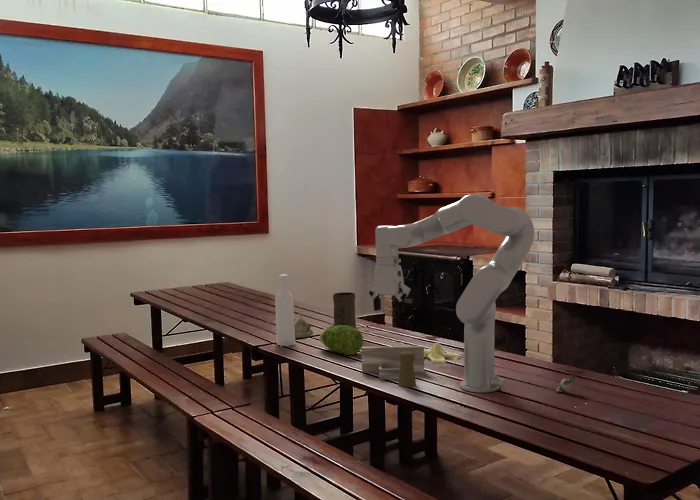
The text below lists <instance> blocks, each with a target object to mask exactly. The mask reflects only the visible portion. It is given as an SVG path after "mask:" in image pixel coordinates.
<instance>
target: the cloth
mask: <svg viewBox="0 0 700 500" xmlns="http://www.w3.org/2000/svg"><path fill="white" fill-rule="evenodd" d="M425 358H427V359H429V360H430V363H431V364H442V365H443V364H444V365H445V364H447V362H446V359H450V360H453V361H458V360H459V359H460V358H461V355H460V353H452V352H451V353H450V352H449V353H448V352H446V351H445V350H444V348H443V347H442V345H441V343H438V342H436V343H434V344H433V345H432V346H431V347H430V348H427V349H424V359H425Z"/></svg>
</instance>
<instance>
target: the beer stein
mask: <svg viewBox="0 0 700 500" xmlns="http://www.w3.org/2000/svg"><path fill="white" fill-rule="evenodd" d="M332 300H333V325H347V326H352V327H354V328H357V323H356V320H357V319H356V304H355V303H356V301H355V300H356V293H354V292H347V291H345V292H336V293H333V295H332Z"/></svg>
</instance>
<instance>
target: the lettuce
mask: <svg viewBox="0 0 700 500" xmlns="http://www.w3.org/2000/svg"><path fill="white" fill-rule="evenodd" d="M319 340H320V342H321V343H322V344H323V345H324V346H325V347H326V348H328V349H329V350H331V351H334V352H336V353H338V354H342V355H345V356H349V357H351V356H354V355H356V354H357V353H359V352H360V351H361V350H362V347H363V344H364V337H363V334H362V333H361V331H360V330H359V329H358V328H357V327H356V328H354V327H352V326H347V325H334V324H332V325H329V326H328V327H326V328H324V329H323V330H322V331H321V332H320V334H319Z"/></svg>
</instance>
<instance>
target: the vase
mask: <svg viewBox="0 0 700 500" xmlns="http://www.w3.org/2000/svg"><path fill="white" fill-rule="evenodd" d="M573 382H577V377H576V376H575V375H573V374H569V378H563V379H561V381H560V383H559V385H558V387H557V388H555V391H564V392H565V390H566V391H569V390H570V389H571V388H572V387H573Z"/></svg>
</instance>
